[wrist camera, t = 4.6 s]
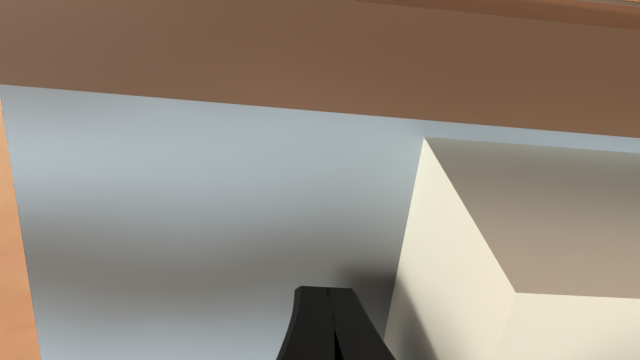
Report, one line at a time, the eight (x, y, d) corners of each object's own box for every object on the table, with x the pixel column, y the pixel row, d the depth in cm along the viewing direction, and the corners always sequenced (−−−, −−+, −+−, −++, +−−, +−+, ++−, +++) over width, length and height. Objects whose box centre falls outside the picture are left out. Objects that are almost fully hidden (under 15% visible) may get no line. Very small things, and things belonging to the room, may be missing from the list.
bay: (802, 470, 18) (926, 606, 15) (73, 452, 16) (12, 608, 13) (1112, 53, 12) (1454, 114, 9) (3, -68, 10) (-156, -52, 6)
